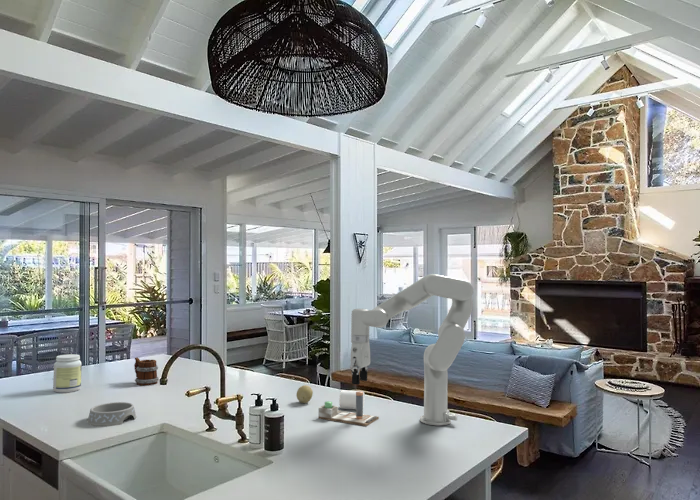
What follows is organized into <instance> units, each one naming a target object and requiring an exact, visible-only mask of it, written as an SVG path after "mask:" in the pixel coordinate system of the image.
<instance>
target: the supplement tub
mask: <svg viewBox="0 0 700 500" xmlns="http://www.w3.org/2000/svg"><path fill="white" fill-rule="evenodd" d="M80 355H81V354H73V353H72V354H68V353H67V354H60V355H57V356H56V357H55V362H54V363H53V380H52V381H53V382H52V383H53V387H52V388H53V389H52V390H53V391H54V392H55V393H59V394H60V393H62V394H63V393H72V392H76V391H77V392H78V391H79V390H81V388H82V369H83V368H82V361H81V356H80Z"/></svg>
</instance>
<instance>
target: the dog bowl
mask: <svg viewBox="0 0 700 500" xmlns="http://www.w3.org/2000/svg"><path fill="white" fill-rule="evenodd" d="M130 416H132V417H133V419H134V420H136V419H137V415H136V410H135V405H134V404H133V403H131V402H127V401H121V402H120V401H117V402H108V403H101V404H98V405H95V406H93V407H91V408H90V410H89V415H88V418H87V421H86V423H87V424H88V425H89V426H93V427H113V426H120V425H121V426H122V425H123V423H124V421H127V419H129V418H130Z"/></svg>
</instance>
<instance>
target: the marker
mask: <svg viewBox="0 0 700 500" xmlns="http://www.w3.org/2000/svg"><path fill="white" fill-rule="evenodd" d="M363 392H364V391H363ZM363 392H356V410H355V413H356V418H357V419H362V416H363V414H364V408H363Z"/></svg>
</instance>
